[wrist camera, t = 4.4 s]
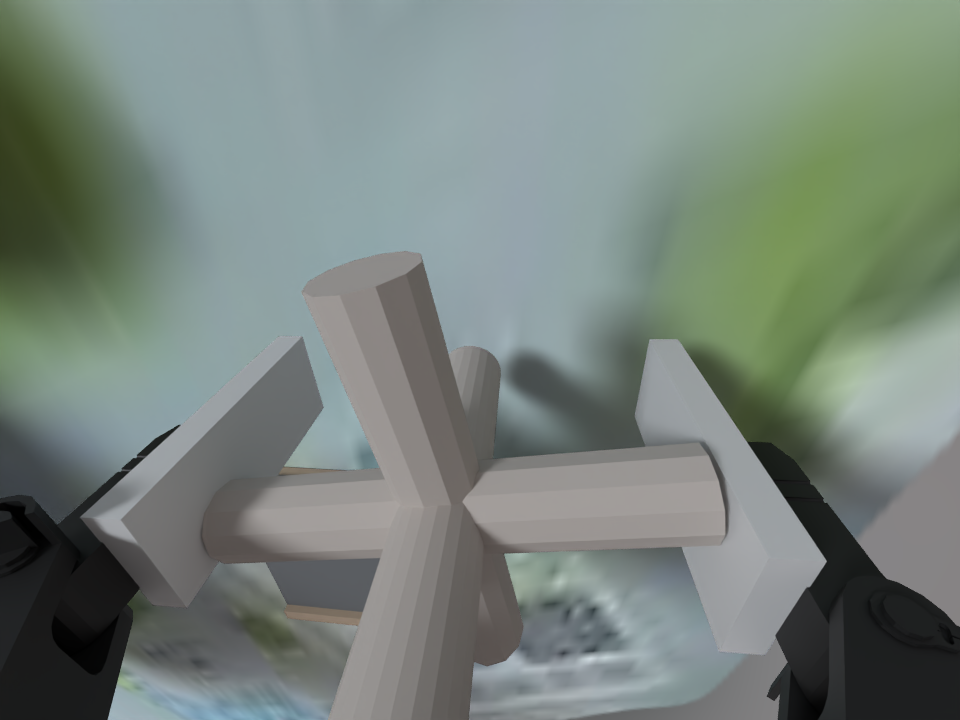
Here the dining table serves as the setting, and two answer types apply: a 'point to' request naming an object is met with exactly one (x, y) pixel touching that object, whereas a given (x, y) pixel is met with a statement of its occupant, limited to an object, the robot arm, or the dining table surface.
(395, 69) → the dining table surface
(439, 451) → the pipe connector
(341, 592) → the mat
